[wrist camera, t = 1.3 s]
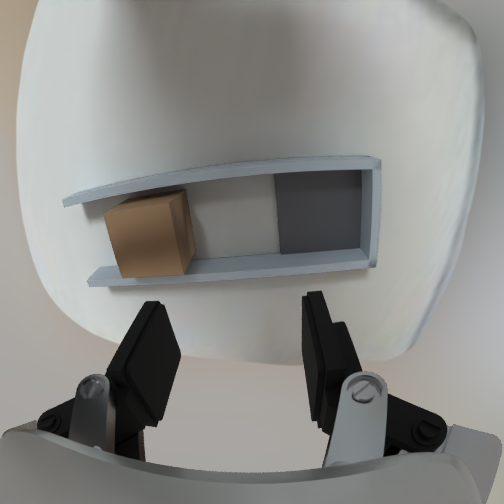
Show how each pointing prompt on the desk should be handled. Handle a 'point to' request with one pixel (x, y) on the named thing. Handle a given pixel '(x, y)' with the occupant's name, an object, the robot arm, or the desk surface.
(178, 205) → the walnut block
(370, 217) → the channel
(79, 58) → the desk surface
